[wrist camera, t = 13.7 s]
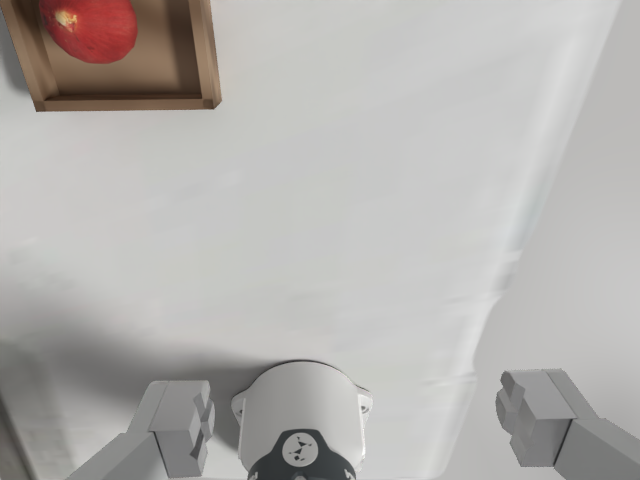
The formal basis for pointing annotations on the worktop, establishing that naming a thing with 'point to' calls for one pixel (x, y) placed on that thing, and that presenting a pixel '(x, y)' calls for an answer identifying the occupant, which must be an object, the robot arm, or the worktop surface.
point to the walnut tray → (123, 61)
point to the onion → (91, 28)
